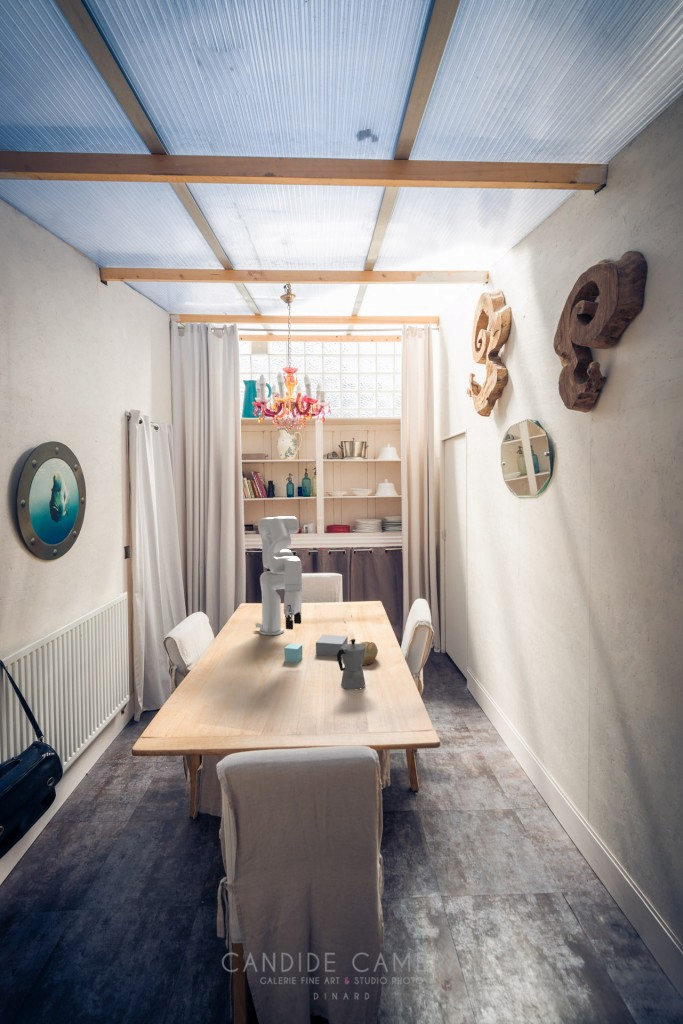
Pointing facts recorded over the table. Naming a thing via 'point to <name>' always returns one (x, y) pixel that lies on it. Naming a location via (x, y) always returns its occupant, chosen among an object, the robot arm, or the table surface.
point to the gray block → (330, 644)
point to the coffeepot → (352, 665)
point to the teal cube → (293, 652)
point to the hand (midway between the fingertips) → (293, 626)
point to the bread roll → (369, 652)
